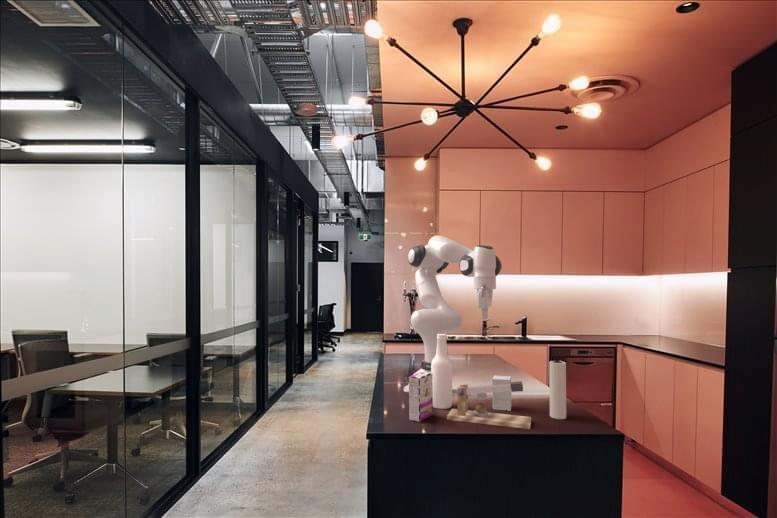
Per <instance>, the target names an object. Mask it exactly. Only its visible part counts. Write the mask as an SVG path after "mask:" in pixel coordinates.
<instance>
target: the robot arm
mask: <svg viewBox="0 0 777 518" xmlns="http://www.w3.org/2000/svg"><path fill="white" fill-rule="evenodd" d="M407 261H408V264H409V265H410V266H411V267H415V268H418V269H417V270H416V271H415V273H414V282H415V288H416V292H417V296H418V299H419V302H420V304H421V305H422V306H423V307H425V308H422V309H418V310H415V311H413V312H412V314H411V316H410V325H411V328H412V329H413V330H414V331H415V332H416V333H417V334H418V335H419V336H420V338H421V339H422V342H423V347H424V359H423V360H421V362H420V368H419V369H418V370H417V371H416V372H414V373H413V374H412V375H415V374H417V373H420V372H430V373H431V363H432V360H433V359H434V357H435V356H436V350H437V334H438V333H440V332H441V333H445V332H446V333H448V332H453V331H457V330H459V329H460V328H461V327H462V325H463V316H462V314H461V312H460V311H459V310H458V309H455V308H454V307H452V306H451V305H450V304H449V303H448V302H447V301H446V299H444V297H443V295H442V292H441V289H440V286H439V284H438V283H439V282H438V280H437V276H436V275H437V274H440V273H442V272H443V270H445V269H446V268H447V267H448V266H449V264H450V263H451V264H453V263H454V264H459V266H458V267H459V271H460V273H461V274H462V275H463V276H464V277H469V278H470V277H471V278H473V289H474V290H475V289H476V293H477V308H478V309H480V310H481V317H482V320H487V319H488V312H489V308H490V307H492V304H493V302H492V301H493V294H494V290H496V289H497V276H498V275H499V274H500V272H501V270H502V266H503V265H502V261H501V260H500V258H499V256H498V255H496V251H495V249H494V247H493V246H490V245H484V244H480V245H476V246H475V247H474V249H471V248H469V247H467V246H465V245H463V244H460V243H459V242H457V241H455V240H453V239H450V238H449V237H446V236H443V235H434V236H431V238H430V239H429V240H428V243H427V244H426V245H423V244H421V243H420V244H418V245H415V246H412V247H411V248H410V249H409V251H408V253H407ZM447 355H448V356H449V346H448V344H447ZM403 392H405V393H409V383H408V384H407V385H405V386H404V387H403Z"/></svg>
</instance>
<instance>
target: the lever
mask: <svg viewBox="0 0 777 518" xmlns="http://www.w3.org/2000/svg"><path fill="white" fill-rule="evenodd" d="M506 391H511V393H512V392H513V393H515V392H523V391H524V384H523V381H522V380H521V381H511V384H504V385H491V384H490V385H482V386H481V385H480V386H479V385H478V386H468V387H466V394H468V395H474V394H476V397H477V401H486V400H487V399H488V396H487V394H488V393H491V394H492V392H506Z"/></svg>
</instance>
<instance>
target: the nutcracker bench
mask: <svg viewBox="0 0 777 518" xmlns="http://www.w3.org/2000/svg"><path fill="white" fill-rule="evenodd" d="M466 387H469V384H463V383H459V386H457V387H456V388H457V391H456V393H457V395H456V396H457V397H456V398H457V401H456V403H457V408H451V409H450V411H449V412H448V414H447V415H446V420H448V421H453V422H454V421H456V422H463V423H464V422H465V423H473V424H481V425H490V426H499V427H506V428H507V427H508V428H516V429H517V428H518V429H525V430H527V429H528V430H531V425H532V417H531V416H525V415H524V416H523V415H516V414H507V413H498V412H497V413H496V412H489V411H488V410H487V406H486V405H485V404H484V403H482V402H481V403H477V404H476V406H475V409H474V410H469V409H468V408H469V407H468V406H469V403H468V402H469V399H468V398H469V397H468V395H469V394H466Z"/></svg>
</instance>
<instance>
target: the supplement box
mask: <svg viewBox="0 0 777 518" xmlns="http://www.w3.org/2000/svg"><path fill="white" fill-rule="evenodd" d="M511 382H512V376H509V375H495V374H494V375H493V377H491V384H492V385H504V384H511ZM491 395H492V410H494V411H495V410H497V411H506V410H507V411H509V412H511V410H512V407H513V405H512V391H506V392H492V393H491Z"/></svg>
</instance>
